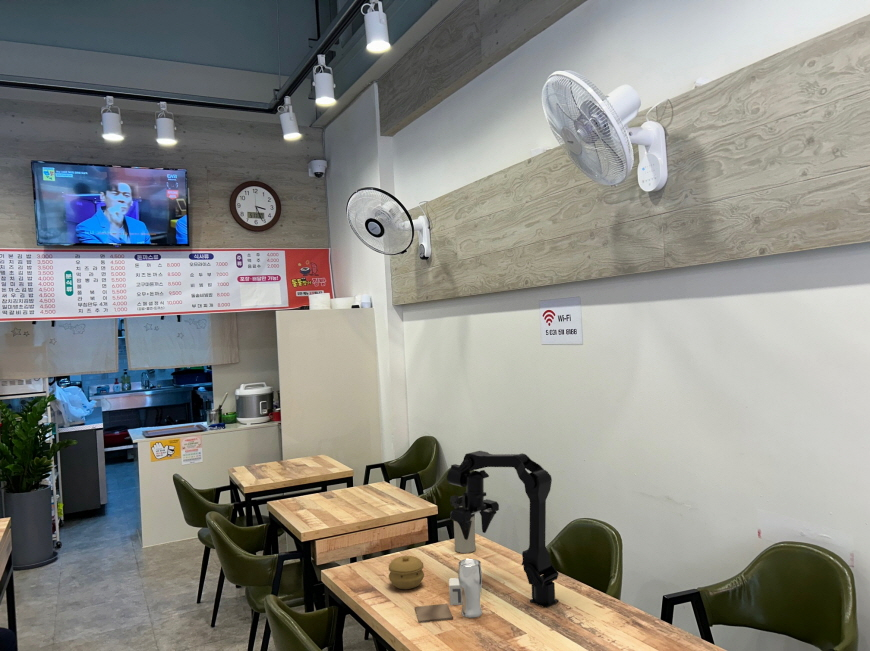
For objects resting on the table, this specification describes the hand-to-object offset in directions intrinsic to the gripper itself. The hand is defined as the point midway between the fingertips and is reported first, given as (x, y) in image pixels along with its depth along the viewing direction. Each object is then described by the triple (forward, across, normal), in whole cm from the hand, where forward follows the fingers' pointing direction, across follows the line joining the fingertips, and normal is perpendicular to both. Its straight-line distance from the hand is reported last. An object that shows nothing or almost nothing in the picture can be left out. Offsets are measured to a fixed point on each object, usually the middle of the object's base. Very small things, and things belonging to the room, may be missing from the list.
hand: (475, 536), depth 216 cm
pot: (+16, +17, -15) cm, 28 cm away
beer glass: (+14, +20, +16) cm, 29 cm away
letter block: (+15, +15, +6) cm, 22 cm away
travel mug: (+17, -22, -24) cm, 36 cm away
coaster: (+15, +27, +7) cm, 32 cm away
